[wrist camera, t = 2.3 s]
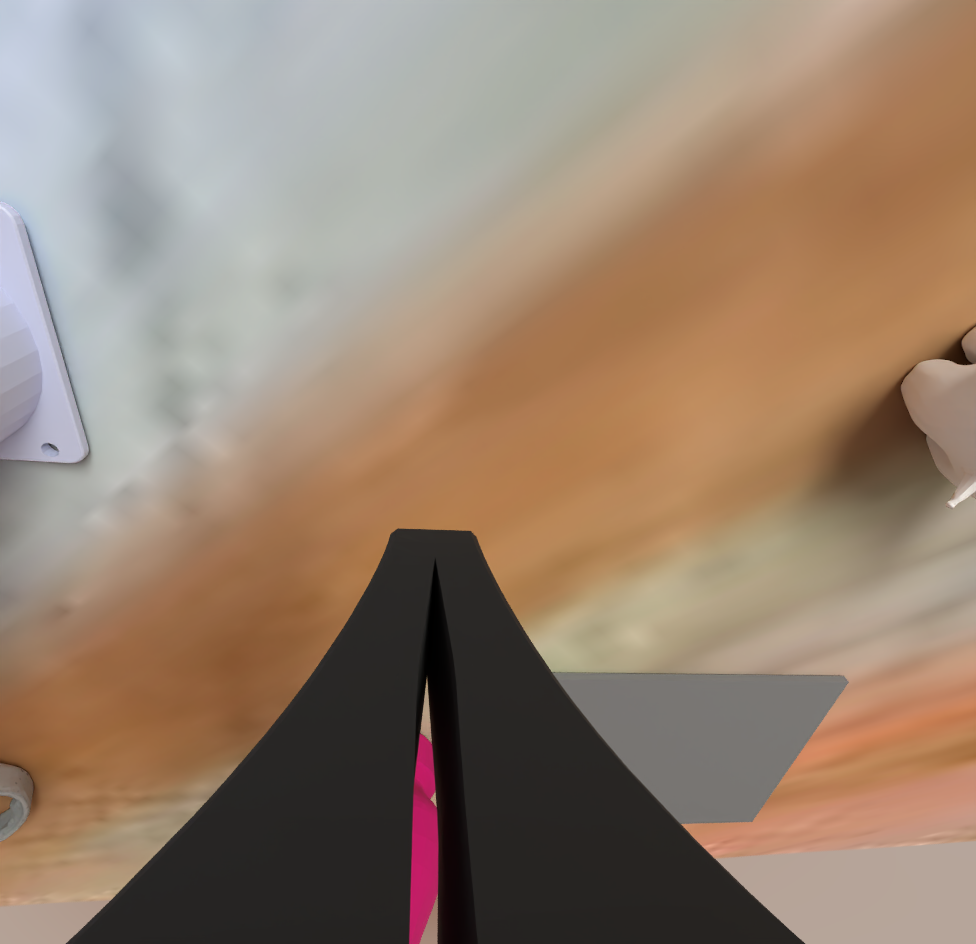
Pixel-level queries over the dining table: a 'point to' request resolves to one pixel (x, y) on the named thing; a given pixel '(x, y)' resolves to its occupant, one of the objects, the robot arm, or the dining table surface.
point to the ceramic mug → (14, 798)
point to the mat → (705, 733)
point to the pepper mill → (423, 843)
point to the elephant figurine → (947, 415)
